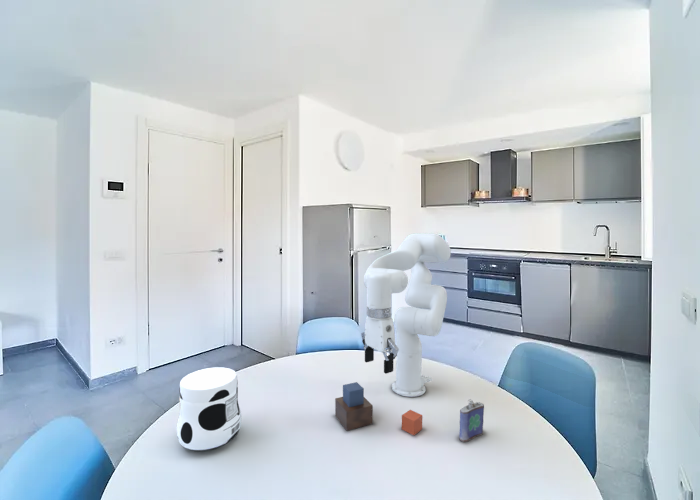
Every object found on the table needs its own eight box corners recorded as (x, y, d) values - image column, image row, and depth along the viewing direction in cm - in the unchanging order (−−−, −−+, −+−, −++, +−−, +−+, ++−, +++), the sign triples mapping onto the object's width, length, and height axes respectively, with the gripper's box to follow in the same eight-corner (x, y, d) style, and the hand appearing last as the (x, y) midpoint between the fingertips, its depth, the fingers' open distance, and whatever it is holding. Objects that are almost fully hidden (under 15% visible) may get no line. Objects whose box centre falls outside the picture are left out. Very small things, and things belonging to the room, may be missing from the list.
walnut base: (359, 409, 114) (359, 392, 114) (372, 423, 106) (372, 405, 106) (335, 416, 111) (335, 398, 110) (346, 431, 102) (346, 411, 102)
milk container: (179, 428, 103) (177, 371, 102) (238, 416, 110) (237, 362, 109) (174, 464, 88) (172, 397, 86) (244, 448, 94) (243, 385, 93)
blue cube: (356, 396, 111) (356, 382, 111) (363, 404, 107) (363, 388, 106) (342, 400, 109) (342, 384, 109) (349, 407, 105) (349, 391, 104)
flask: (464, 443, 97) (464, 406, 96) (456, 438, 99) (456, 402, 99) (485, 433, 101) (486, 398, 101) (477, 428, 104) (478, 394, 103)
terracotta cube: (410, 423, 107) (410, 409, 106) (422, 429, 103) (422, 415, 103) (401, 429, 103) (401, 415, 103) (413, 435, 100) (414, 421, 100)
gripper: (407, 316, 99) (406, 374, 100) (371, 305, 113) (371, 355, 114) (387, 320, 95) (386, 380, 96) (353, 308, 109) (353, 360, 110)
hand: (378, 366), depth 105 cm, fingers open, 9 cm apart
